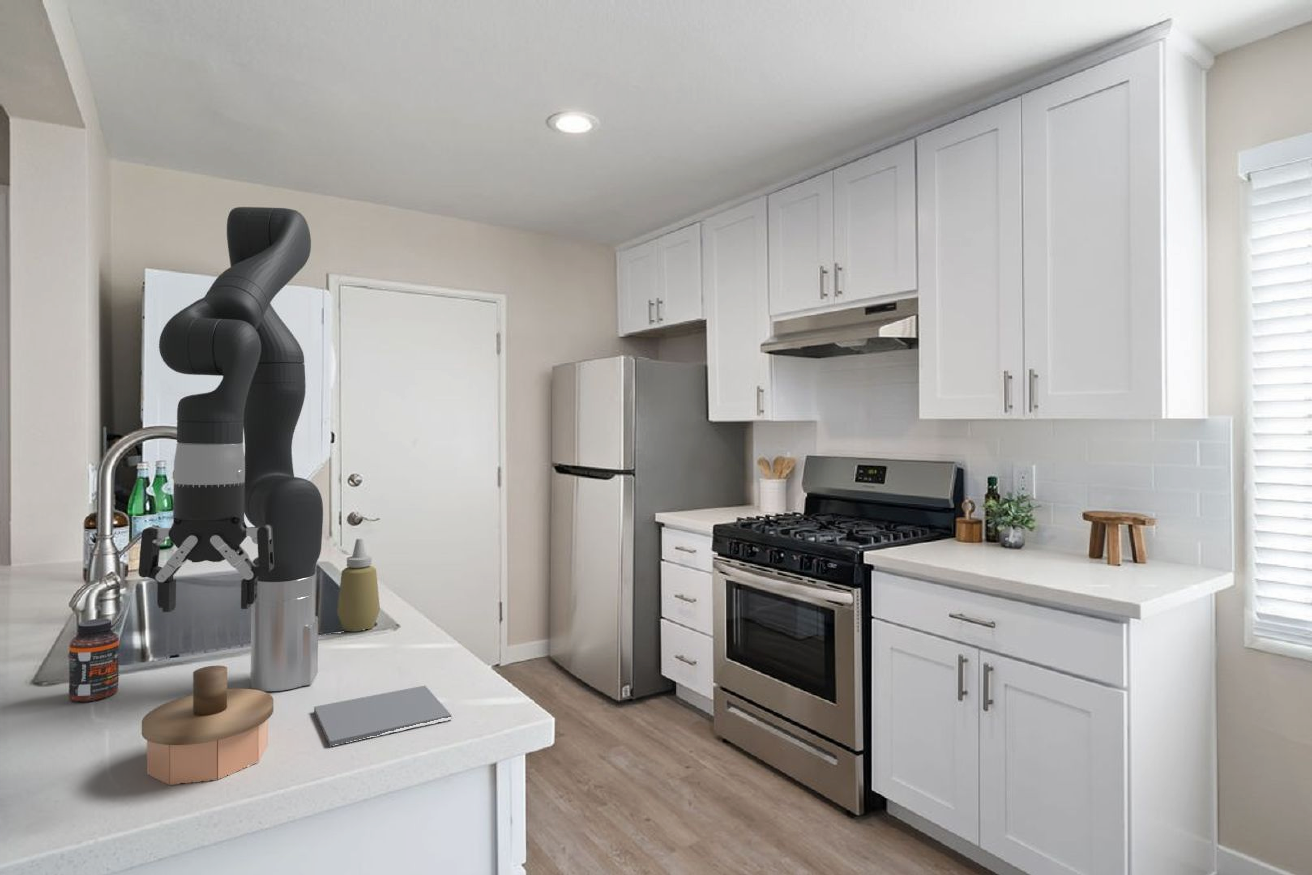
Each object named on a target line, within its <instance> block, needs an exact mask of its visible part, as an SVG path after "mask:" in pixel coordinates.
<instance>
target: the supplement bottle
mask: <svg viewBox="0 0 1312 875" xmlns="http://www.w3.org/2000/svg"><path fill="white" fill-rule="evenodd" d="M112 627H113V626H112V620H111V619H109V618H92V619H87V620H83V621H81V622H79V623H77V634H76V636H75V637H73V638H72V639H71V640H70V642H69V648H68V649H69V653H68V654H69V655H68V656H69V657H68V666H69V668H68V675H69V676H68V696H69V699H70V700H71V701H74V702H79V701H80V702H79V703H88V702H94V701H100V700H103V699H107V698H109V697H111V696H113V695H114V694H116V693H117V692H118V690H119V677H120V675H119V674H120V673H119V668H120V665H119V664H120V663H119V662H120V640H119V638H120V637H119V634H117V633H116V632H114V631H113V630H112Z"/></svg>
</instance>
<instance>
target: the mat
mask: <svg viewBox="0 0 1312 875" xmlns="http://www.w3.org/2000/svg"><path fill="white" fill-rule="evenodd" d="M313 708H314V709H313V713H314V712H315V713H314V715H315V714H316V715H315V718H318V719H317V721H319V722H318V723H320V724H319V726H320V725H321V726H320V728H321V727H322V728H321V730H322V729H323V730H322V732H323V731H324V733H323V735H324V734H325V735H324V737H325V736H326V737H325V739H326V738H327V739H326V741H327V740H328V742H327V744H328V743H329V744H328V746H329V745H330V746H333V745H335V744H342V743H346V742H350V741H354V740H359V739H363V738H367V737H370V736H377V735H380V734H382V733H385V732H388V731H394V730H396V729H400V728H404V727H409V726H413V725H416V724H420V723H427V722H430V721H434V720H438V719H441V718H448V717H451V718H452V714H451V713H450V711H448V709H447V708H446V707H445V706H444V705H443V703H441V702H440V700H439V699H438V698H437V697H436V696H435V695H434V694H433V692H431V690H430V689H429V688H428V687H427V686H426V685H420V686H414V687H410V688H406V689H405V688H404V689H400V690H393V691H388V692H385V693H379V694H372V695H369V696H363V697H358V698H353V699H348V700H342V701H338V702H332V703H331V702H330V703H326V704H321V705H317V706H313ZM330 746H329V747H330Z"/></svg>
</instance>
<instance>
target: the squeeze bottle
mask: <svg viewBox="0 0 1312 875" xmlns="http://www.w3.org/2000/svg"><path fill="white" fill-rule="evenodd" d="M340 574H341V577H340V583H339V593H338V601H337V602H338V604H337V608H336V609H337V610H336V613H337V617H338V618H339V622H340V625H341V627H342V630H344V631H346V632H347V631H348V632H359V631H358V630H363V629H368V630H370V629H373V628H374V627H375V625H376V622H377V619H378V616H379V613H380V611H381V606H380V605H381V603H380V595H379V586H378V585H379V584H378V576H377V575H378V574H377V568H375V567H374V566H372V556H371V555H366V550H365V544H364V541H363V539H362V538H357V539H356V540H355V543H354V547H353V552H352V556H348V557H346V567H345V568H344V569H342V570H341V573H340ZM363 631H364V630H363Z"/></svg>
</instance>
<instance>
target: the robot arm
mask: <svg viewBox="0 0 1312 875" xmlns="http://www.w3.org/2000/svg"><path fill="white" fill-rule="evenodd" d="M226 220H227V221H226V240H227V250H228V256H229V263H230V267H229V268H227V269H225V270H224V271H223V272H222V273H221V274H219V275H218V276H217V278H216V279H215V280H214V281H213V282H212V283H211V284H212V285H211V286H210V288H209V289H208V290H207V292H206V293H205V295H204V297H201V298H200V299H199V298H198V300H196V301H194V302H193V303H191V304H190V305H187V306H186V307H185V308H183V309H181V310H180V311H178V312H177V313H175V314H174V315H173V316H172V317H171V318H170V319H169V320H168V321H167V323H166V324H164V327H163V329H162V331H161V333H160V335H159V341H158V342H159V343H158V351H159V355H160V356H161V359H162V361H163V362H164V364H165V365H166V366H167V367H168V368H170V369H171V370H173V371H174V372H176V373H178V374H182V375H193V376H219V377H221V376H222V379H221V381H220V382H219V384H218V385H217V387H216V388H214V390H211V391H208V392H205V393H204V392H203V393H197V394H190V395H186V396H184V397H182V398H181V399H180V400H179V401H178V403H177V409H176V421H177V422H176V449H175V454H174V460H173V471H172V480H173V498H172V499H173V501H172V502H173V503H172V504H173V505H172V507H173V508H172V509H173V510H172V518H173V521H172V525H171V526H170V527H161V526H160V525H152V526H149V527H146V528H144V529H143V530H142V531H141V537H140V538H141V539H140V551H139V559H138V560H139V561H138V572H137V573H138V576H140V578H149V579H152V580H154V581H155V582H156V585H157V588H156V589H157V594H156V596H157V598H156V603H157V604H156V605H157V606H158V608H159V609H160V608H161V611H162V613H171V612H172V611H174V610H175V609H176V605H177V603H176V602H177V601H176V600H177V579H176V578H174V576H175V575H176V573H178V571H179V570H180V569H181V568H182V567H183V565H185V563H187V562H188V561H190V562H191V563H202V562H205V561H206V562H212V563H221V562H222V561H225V560H226V562H228V564H229V565H230V566H231V567H232V568H234V569H235V570H236V572H238V573H239V575H241V577H242V578H243V579H242V580H240V581H241V582H240V583H241V584H240V592H241V593H240V609H241V610H249V609H250V687H251V689H254V690H260V691H263V692H280V691H286V690H293V689H296V688H300V687H304V686H311V685H312V684H313V682H314V680H315V679H316V676H317V674H318V673H319V670H318V669H319V667H318V666H319V657H318V656H319V617H318V616H317V615H316V583H317V582H316V573H317V571H316V570H317V569H316V568H317V563H318V561H319V558H320V556H321V552H322V540H323V527H324V526H323V524H324V504H323V498H322V494H321V492H320V490H319V489H318V488H319V487H317V486H316V484H314V483H313V481H310V480H308V479H307V478H302V477H299V476H295V474H294V466H293V465H294V464H293V455H292V454H293V448H292V447H293V439H294V433H295V430H296V427H297V424H298V421H299V420H300V416H301V413H302V410H303V406H304V403H305V402H304V401H305V399H306V387H307V386H306V371H305V370H306V369H305V355H304V352H303V349H302V347H301V345H300V342H299V341H298V340H297V338H296V337H295V336H294V334H293V333H292V331H291V330H290V329H289V327H288V326H287V325H286V324H285V323H284V321H283V320H282V319H281V318H280V316H279V315H278V313H277V312H276V311H275V309H274V307H273V306H272V304H271V302H272V301H273V299H274V298H275V297H276V295H277V294H279V293H280V291H281V290H282V289H283V288H285V286H286V285H287V284H288V283H290V281H291V280H293V278H294V277H295V276H296V275H297V274H298V273H299V272H300V271H301V270H302V269H303V268H304V267H305V265H306V264H307V263H308V260H309V258H310V255H311V249H312V237H311V231H310V228H309V224H308V222H307V220H306V218H305V216H304V215H303V214H302V213H301V212H299V211H298V210H295V209H292V208H286V207H285V208H284V207H266V206H265V207H262V206H261V207H260V206H238V207H234V208H232V209H231V210H230V211H229V213H228V216H227V219H226ZM245 517H246V519H247V520H248V522H249V523H250V524H251V525H253V526H251V527H249V526H247V524H246V521H245ZM168 537H169V539H170V541H171V542H172V543H173V544H174V546H175V547H176V550H175V552H174V553H173V554H172V555H171V557H170V558H168V560H167V561H166V562H165V564H164V566H163V567H161V566H159V562H160V561H159V560H160V551H161V550H160V549H161V545H163V544H164V543H165V542H166V540H167V538H168ZM247 537H250V538H251V542H252V543H253V544H255V545H257V557H256V558H254V559H253V560H251V558H250V556H249V554H248V553H247V552H246V550H245V549H244V548H243V547H242V546H241V544H242V543H243V542H244V541H245V539H247Z"/></svg>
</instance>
